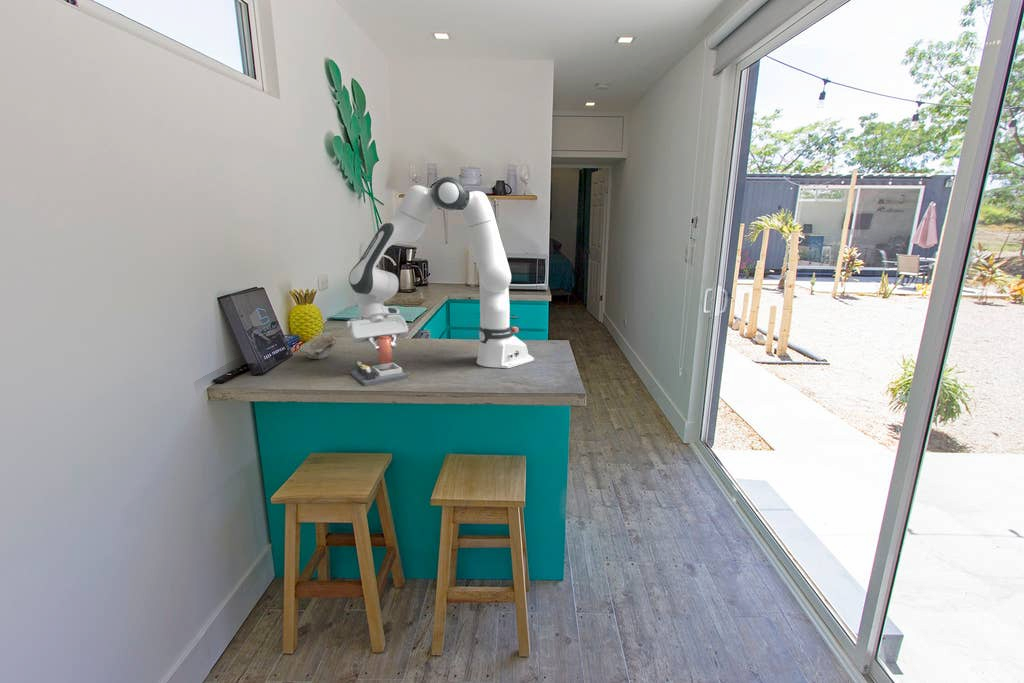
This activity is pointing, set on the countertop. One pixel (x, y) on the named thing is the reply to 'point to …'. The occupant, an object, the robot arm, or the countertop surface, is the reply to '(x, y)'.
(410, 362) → the countertop surface
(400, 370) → the panel
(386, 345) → the cap
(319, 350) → the stone
